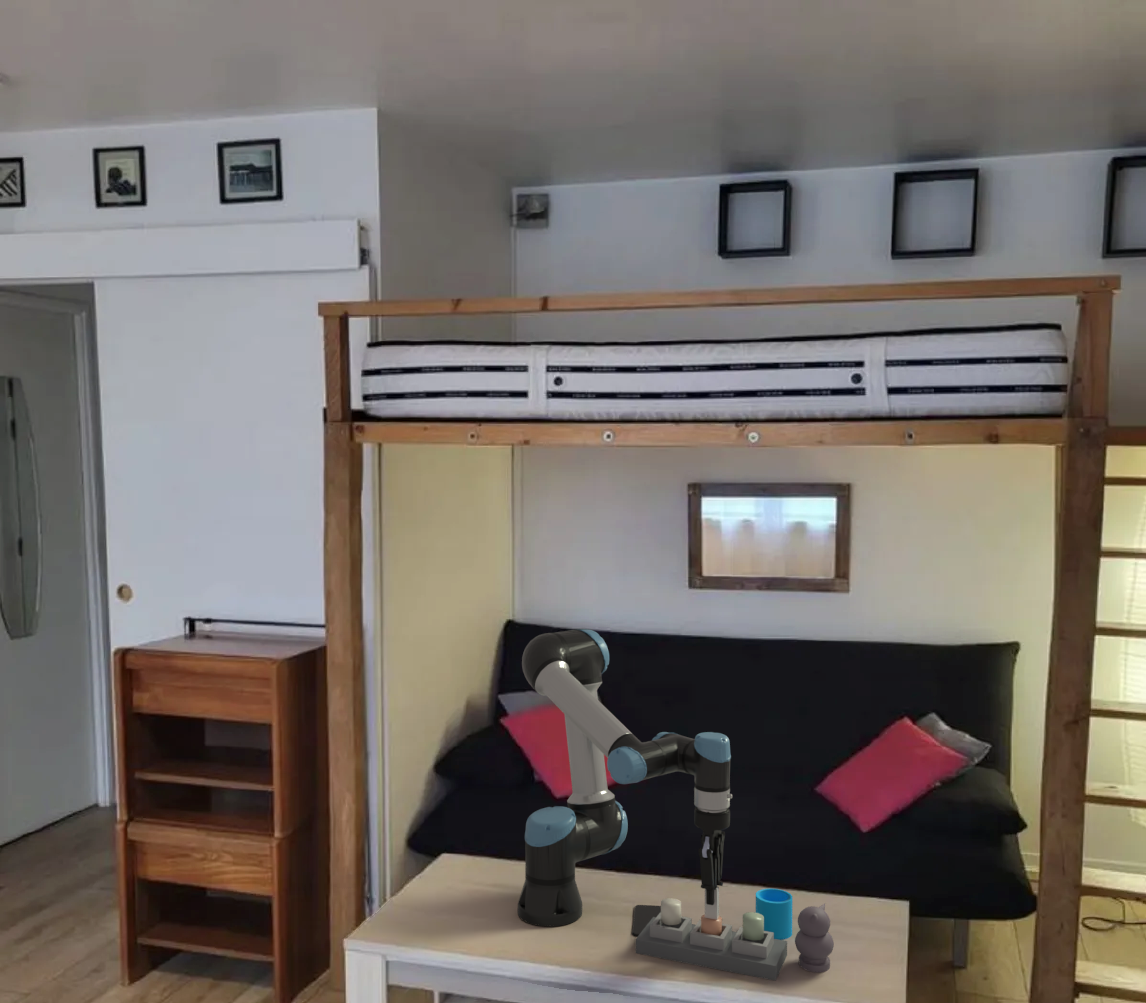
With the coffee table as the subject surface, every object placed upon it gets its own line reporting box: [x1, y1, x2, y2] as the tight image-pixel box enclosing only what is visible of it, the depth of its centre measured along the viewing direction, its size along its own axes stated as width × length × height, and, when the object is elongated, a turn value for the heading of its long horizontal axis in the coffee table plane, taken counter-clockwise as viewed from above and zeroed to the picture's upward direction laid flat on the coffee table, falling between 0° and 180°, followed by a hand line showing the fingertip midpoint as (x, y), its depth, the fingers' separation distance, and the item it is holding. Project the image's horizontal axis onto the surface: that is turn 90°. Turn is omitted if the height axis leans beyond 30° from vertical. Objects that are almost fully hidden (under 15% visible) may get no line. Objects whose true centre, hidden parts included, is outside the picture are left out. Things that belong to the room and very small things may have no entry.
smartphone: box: [631, 904, 661, 938], centre depth 230 cm, size 8×1×16 cm
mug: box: [755, 888, 793, 940], centre depth 226 cm, size 12×8×8 cm
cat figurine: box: [794, 903, 835, 973], centre depth 209 cm, size 8×8×12 cm
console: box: [635, 912, 788, 981], centre depth 214 cm, size 30×12×5 cm, turn 67°
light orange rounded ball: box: [700, 913, 723, 936], centre depth 214 cm, size 4×4×4 cm
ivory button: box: [660, 897, 682, 925], centre depth 217 cm, size 4×4×4 cm
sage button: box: [742, 911, 764, 940], centre depth 210 cm, size 4×4×4 cm
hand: (711, 917), depth 214 cm, fingers closed
